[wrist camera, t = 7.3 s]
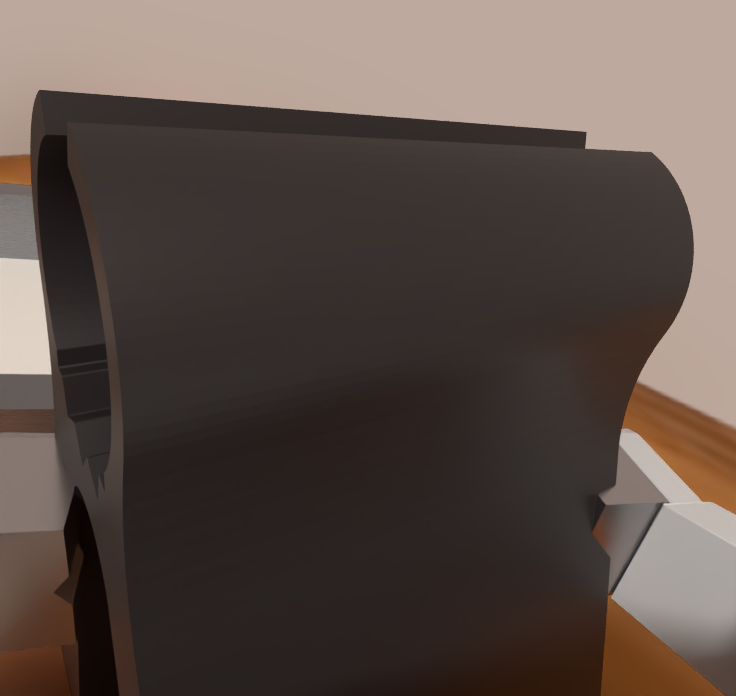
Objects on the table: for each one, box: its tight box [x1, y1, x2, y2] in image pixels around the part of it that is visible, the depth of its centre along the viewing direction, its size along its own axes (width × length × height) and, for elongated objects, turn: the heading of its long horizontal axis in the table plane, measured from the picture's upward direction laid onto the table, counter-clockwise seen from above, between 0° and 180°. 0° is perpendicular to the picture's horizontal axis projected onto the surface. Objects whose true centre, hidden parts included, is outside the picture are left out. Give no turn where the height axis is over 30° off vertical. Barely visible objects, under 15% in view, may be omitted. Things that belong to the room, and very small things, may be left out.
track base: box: [0, 258, 52, 374], centre depth 23 cm, size 22×19×1 cm
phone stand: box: [31, 90, 694, 696], centre depth 8 cm, size 9×6×12 cm, turn 33°
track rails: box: [0, 183, 55, 434], centre depth 22 cm, size 22×17×3 cm
